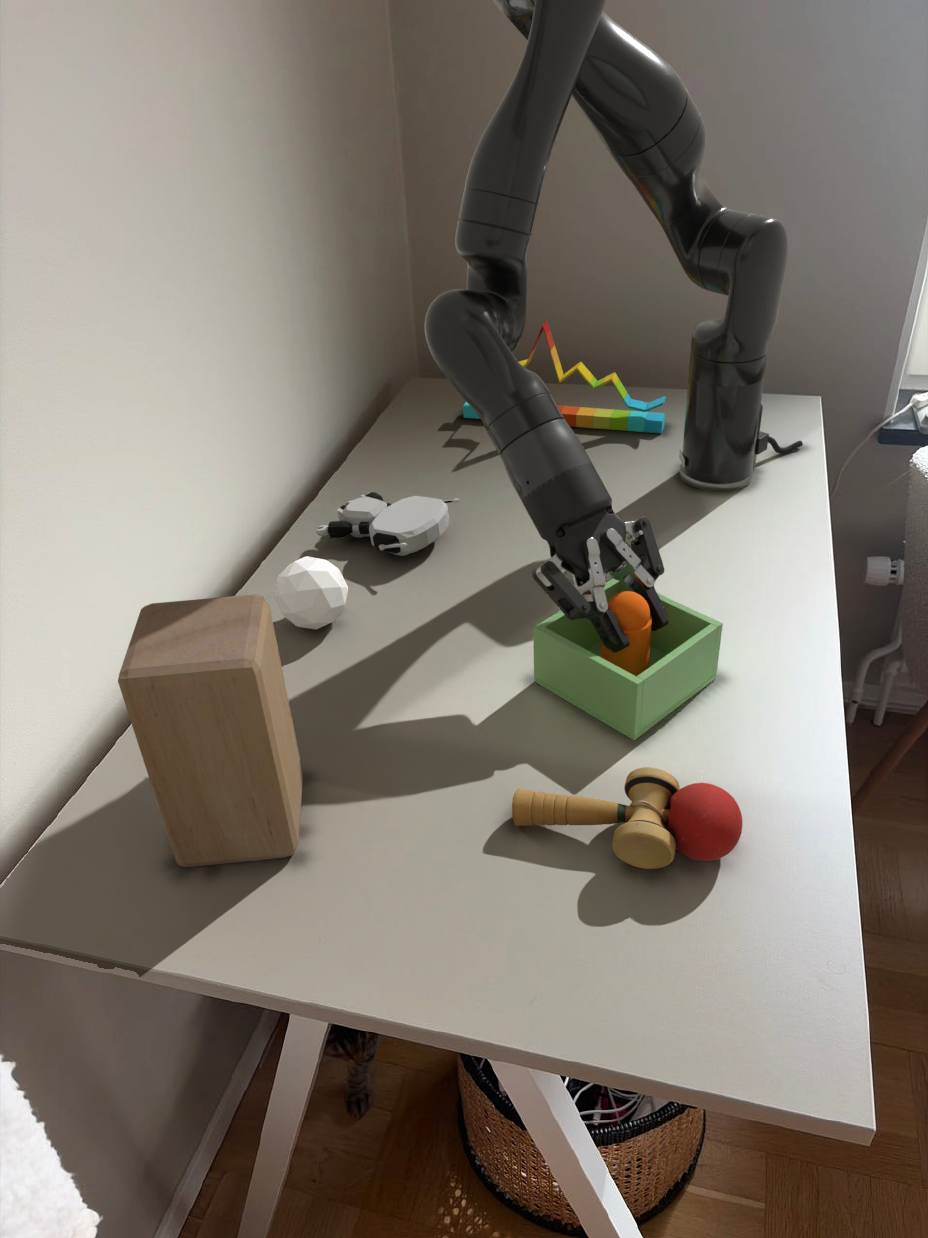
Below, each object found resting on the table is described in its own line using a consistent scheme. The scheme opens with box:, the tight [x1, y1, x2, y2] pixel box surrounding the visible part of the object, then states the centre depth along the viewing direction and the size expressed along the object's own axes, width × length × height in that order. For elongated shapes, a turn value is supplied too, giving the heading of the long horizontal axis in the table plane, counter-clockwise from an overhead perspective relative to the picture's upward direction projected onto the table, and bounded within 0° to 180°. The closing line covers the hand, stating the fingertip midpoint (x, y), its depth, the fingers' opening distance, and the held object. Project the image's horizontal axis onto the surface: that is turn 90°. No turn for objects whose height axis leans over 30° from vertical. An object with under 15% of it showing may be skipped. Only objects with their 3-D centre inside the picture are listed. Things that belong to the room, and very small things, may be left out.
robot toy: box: [315, 491, 461, 557], centre depth 120 cm, size 12×4×15 cm
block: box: [117, 593, 304, 868], centre depth 77 cm, size 10×10×20 cm
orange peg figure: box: [601, 591, 652, 677], centre depth 93 cm, size 5×5×9 cm
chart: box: [462, 319, 667, 434], centre depth 143 cm, size 30×3×15 cm, turn 72°
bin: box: [532, 577, 723, 741], centre depth 94 cm, size 13×13×7 cm
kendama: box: [511, 766, 743, 870], centre depth 78 cm, size 8×6×18 cm
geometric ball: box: [273, 555, 349, 631], centre depth 105 cm, size 8×8×8 cm
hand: (641, 637), depth 91 cm, fingers closed on orange peg figure, 4 cm apart
